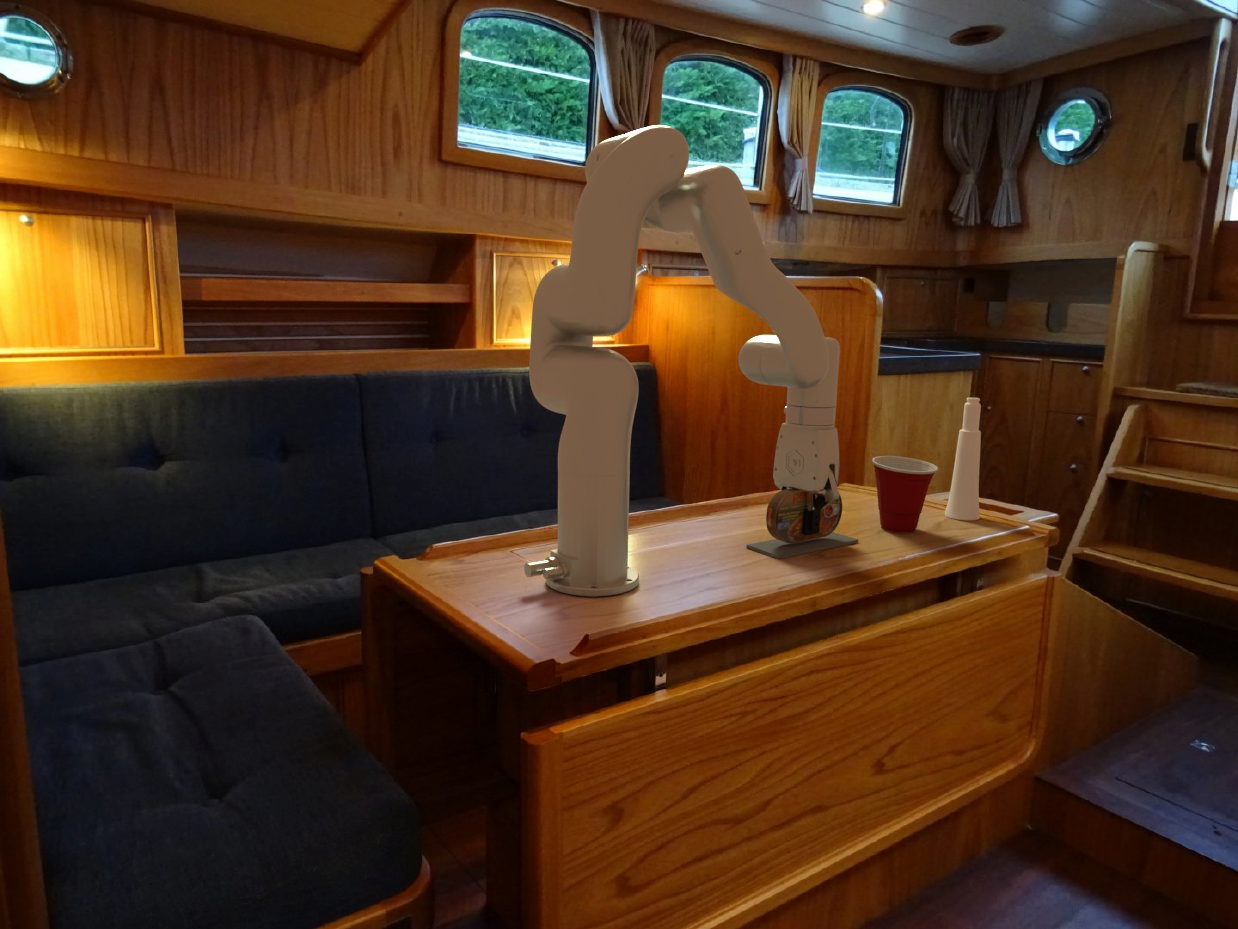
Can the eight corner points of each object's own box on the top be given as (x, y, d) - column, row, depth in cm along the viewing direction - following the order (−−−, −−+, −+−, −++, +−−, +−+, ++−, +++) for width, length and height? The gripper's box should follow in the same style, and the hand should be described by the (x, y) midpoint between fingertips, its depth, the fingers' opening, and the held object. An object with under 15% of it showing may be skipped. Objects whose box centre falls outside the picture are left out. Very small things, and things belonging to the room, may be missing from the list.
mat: (778, 558, 128) (778, 555, 128) (746, 547, 134) (746, 544, 134) (858, 542, 138) (858, 539, 138) (825, 532, 144) (825, 529, 144)
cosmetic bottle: (941, 517, 156) (952, 398, 152) (947, 511, 161) (958, 395, 157) (977, 522, 153) (989, 400, 149) (981, 515, 158) (993, 397, 154)
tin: (774, 547, 131) (779, 493, 129) (760, 541, 133) (764, 489, 131) (841, 534, 139) (846, 484, 137) (826, 529, 142) (831, 480, 140)
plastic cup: (907, 541, 140) (913, 469, 138) (853, 527, 148) (858, 459, 146) (945, 532, 146) (951, 463, 144) (892, 518, 155) (897, 453, 153)
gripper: (756, 412, 137) (750, 523, 140) (833, 424, 124) (825, 547, 127) (789, 410, 141) (783, 518, 144) (868, 421, 128) (858, 540, 131)
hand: (803, 530), depth 136 cm, fingers closed on tin, 2 cm apart
